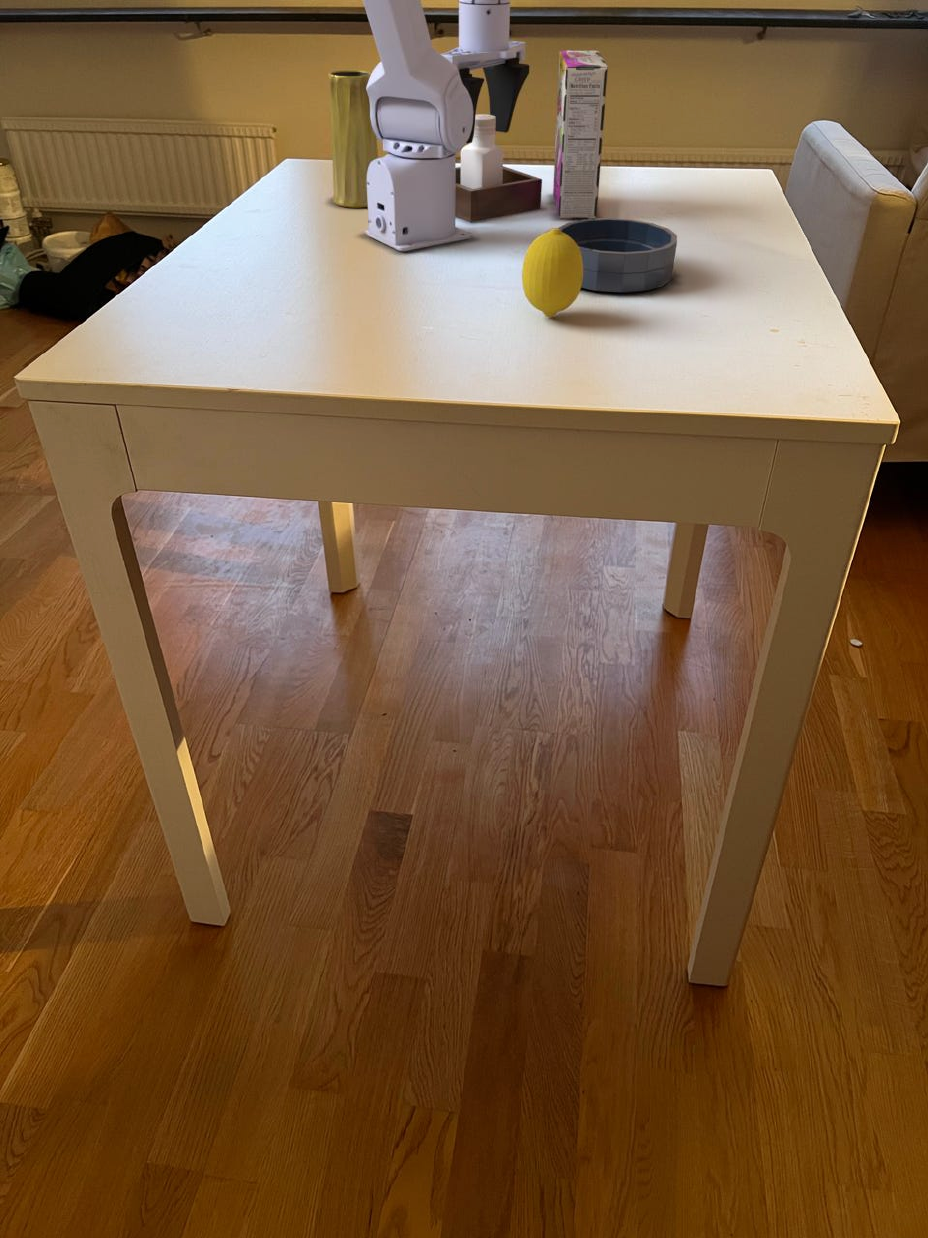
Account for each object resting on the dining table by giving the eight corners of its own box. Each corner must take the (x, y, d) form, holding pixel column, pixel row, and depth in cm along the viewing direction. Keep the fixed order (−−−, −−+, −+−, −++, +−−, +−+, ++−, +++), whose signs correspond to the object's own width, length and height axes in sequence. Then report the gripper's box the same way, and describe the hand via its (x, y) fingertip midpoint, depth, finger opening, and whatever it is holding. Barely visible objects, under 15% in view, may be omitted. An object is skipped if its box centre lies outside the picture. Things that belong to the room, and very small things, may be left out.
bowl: (606, 303, 93) (610, 261, 90) (529, 269, 101) (531, 229, 98) (696, 280, 98) (702, 239, 96) (616, 249, 106) (620, 211, 104)
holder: (470, 222, 114) (471, 191, 112) (422, 202, 121) (422, 172, 119) (540, 209, 119) (542, 178, 117) (490, 190, 126) (491, 161, 124)
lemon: (531, 330, 87) (536, 239, 82) (512, 309, 91) (516, 221, 86) (588, 325, 88) (596, 234, 83) (567, 304, 92) (573, 217, 88)
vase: (351, 210, 118) (343, 78, 109) (324, 200, 122) (314, 71, 113) (391, 202, 121) (386, 73, 112) (364, 192, 125) (357, 67, 116)
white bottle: (458, 201, 120) (458, 116, 114) (480, 195, 122) (482, 111, 116) (481, 207, 118) (483, 121, 112) (503, 201, 120) (506, 116, 114)
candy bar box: (550, 195, 124) (558, 49, 114) (588, 196, 124) (600, 49, 114) (555, 220, 115) (565, 63, 105) (597, 220, 115) (610, 64, 105)
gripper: (475, 9, 101) (474, 151, 109) (549, -1, 110) (542, 130, 118) (422, 5, 104) (425, 143, 112) (498, -5, 113) (495, 123, 121)
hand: (482, 136), depth 115 cm, fingers open, 7 cm apart
